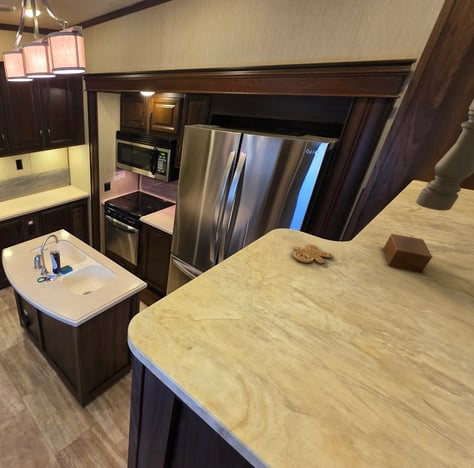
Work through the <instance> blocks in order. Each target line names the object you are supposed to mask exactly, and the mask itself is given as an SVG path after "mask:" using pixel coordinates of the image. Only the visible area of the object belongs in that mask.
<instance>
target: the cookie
mask: <svg viewBox="0 0 474 468" xmlns="http://www.w3.org/2000/svg"><path fill="white" fill-rule="evenodd" d="M292 257H293V258H294V259H295V260H297V261H299V262H300V263H304V264H311V263H313V262H314V261H315V262H316V263H318V264H325V263H326V261H325V259H324V258H328V259H332V258H333V257H334V256H333V255H332V254H331V253H329V252H328V251H327V252H326V251H322V250H320V249H319V248H318V247H317V246H316V245H313V244H308V249H307V248H305V247H300V246H297V247H296V248H295V252H294V253H292Z"/></svg>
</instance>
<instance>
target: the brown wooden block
mask: <svg viewBox="0 0 474 468" xmlns="http://www.w3.org/2000/svg"><path fill="white" fill-rule="evenodd" d="M383 252H384V255H385V258H386V262H387V265H388V267H389V266H390V267H395V268H399V269H403V270H406V271H413V272H416V273H420V274H421V273H423V272H424V270H425V269H426V268H427V266H428V264H429V263H430V261H431V260H432V259H433V255H432V253H431V251H430V250H429V248H428V246H427V244H426V242H425V239H423V238H417V237H412V236H407V235H401V234H396V233H395V234H394V233H391V234H390V235H389V237H388V239H387V240H386V243H385V245H384V246H383Z"/></svg>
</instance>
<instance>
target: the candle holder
mask: <svg viewBox="0 0 474 468" xmlns="http://www.w3.org/2000/svg"><path fill="white" fill-rule="evenodd" d="M468 110H469V111H468V113H467V114H469V118H468V120H467V121H464V122H462V123H461V125H460V126H461V129H462V130H461V133H460V135H459V136H458V138H457V140H456V142H455V143H454V144H453V145H452V147H450V149H448V150H447V152H446V153H445V154H444V155H443V157H441V159H440V160H439V161H438V162H437V163H436V164H435V166H434V173H435V175H434V178H435V179H433V180H431V181H429V182H427V183H426V187H424V188H422V189H421V191H420V193H419V195H418V196H417V198H416V200H415V204H417V206H420V207H422V208H426V209H428V210H434V211H441V212H442V211H443V212H445V211H450V210H452V208H453V207H454V204H455V203H456V202H457V200H458V198H459V197H460V196H459V194H458V193H460V192H461V191H462V189H461V186H460V183H461V182H463V180H464V179H466V178H468V177H470V176H471V175H473V174H474V99H473V100H472V101H471V104H470V105H469V107H468Z"/></svg>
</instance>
